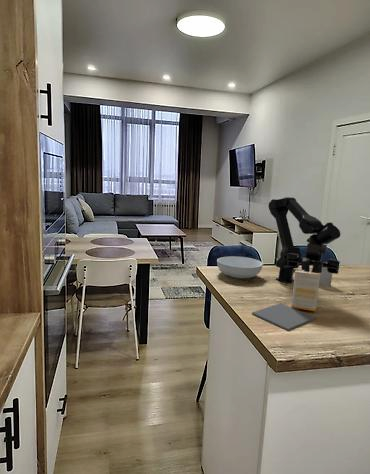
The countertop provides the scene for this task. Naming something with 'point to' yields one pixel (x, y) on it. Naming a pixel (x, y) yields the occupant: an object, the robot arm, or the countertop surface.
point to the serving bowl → (239, 266)
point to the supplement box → (305, 290)
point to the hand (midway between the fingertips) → (308, 282)
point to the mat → (284, 316)
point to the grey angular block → (325, 278)
